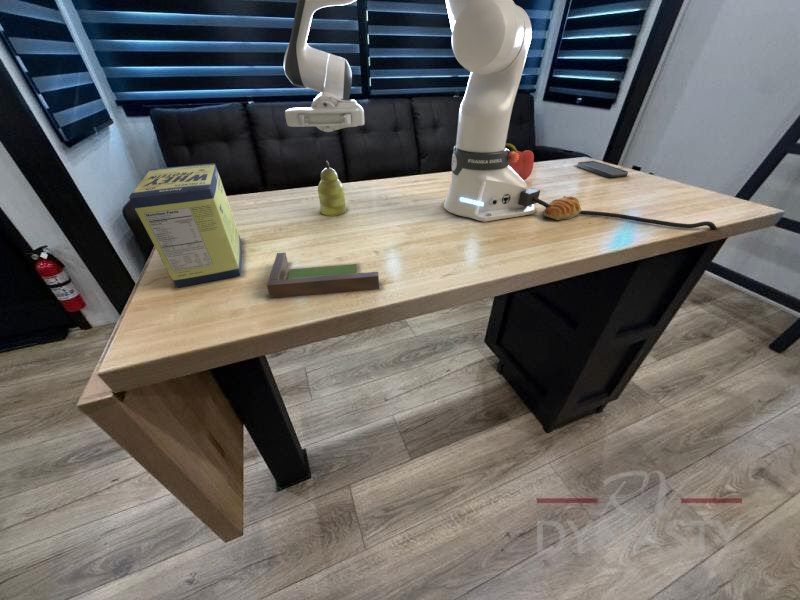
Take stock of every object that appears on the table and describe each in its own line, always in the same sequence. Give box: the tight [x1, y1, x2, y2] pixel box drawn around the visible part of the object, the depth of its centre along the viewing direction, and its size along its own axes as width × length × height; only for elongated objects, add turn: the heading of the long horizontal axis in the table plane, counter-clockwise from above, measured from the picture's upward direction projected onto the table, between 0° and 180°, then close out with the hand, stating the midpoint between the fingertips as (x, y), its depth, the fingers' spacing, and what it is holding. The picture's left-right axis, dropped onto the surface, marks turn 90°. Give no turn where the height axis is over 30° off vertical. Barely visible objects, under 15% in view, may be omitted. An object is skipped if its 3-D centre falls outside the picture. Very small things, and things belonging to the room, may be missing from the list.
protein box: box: [128, 162, 242, 288], centre depth 56 cm, size 10×16×16 cm
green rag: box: [286, 264, 358, 279], centre depth 56 cm, size 12×7×1 cm, turn 99°
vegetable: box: [505, 142, 535, 181], centre depth 97 cm, size 11×10×10 cm
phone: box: [576, 160, 629, 179], centre depth 107 cm, size 8×1×15 cm
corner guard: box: [266, 252, 380, 299], centre depth 55 cm, size 18×10×2 cm, turn 99°
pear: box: [317, 160, 347, 217], centre depth 76 cm, size 6×6×12 cm
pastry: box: [543, 195, 582, 221], centre depth 77 cm, size 9×7×4 cm
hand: (324, 121), depth 79 cm, fingers open, 8 cm apart
